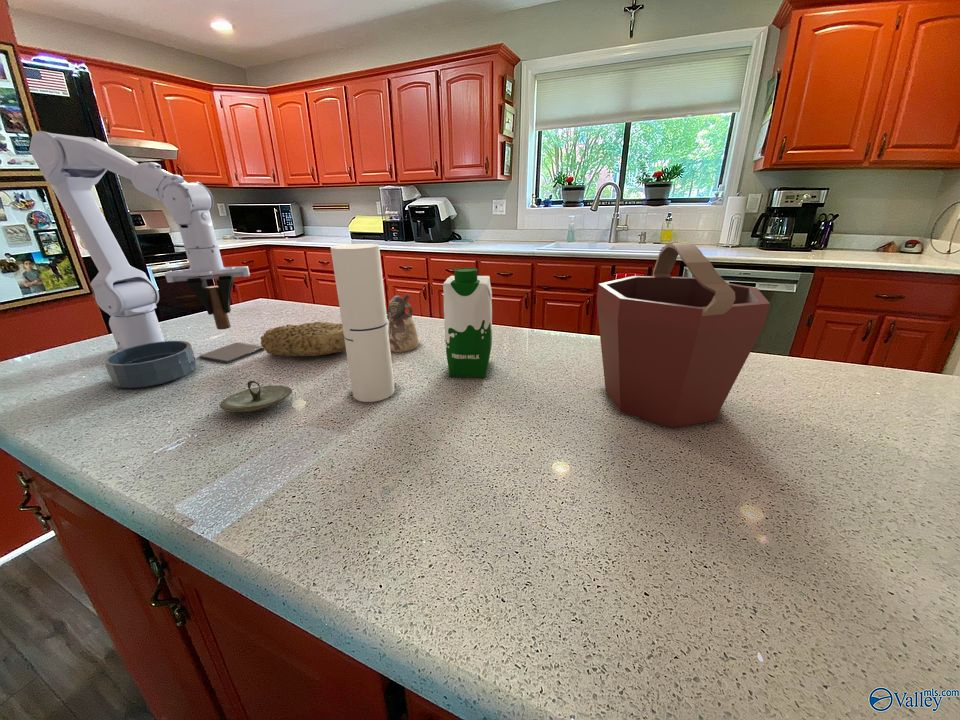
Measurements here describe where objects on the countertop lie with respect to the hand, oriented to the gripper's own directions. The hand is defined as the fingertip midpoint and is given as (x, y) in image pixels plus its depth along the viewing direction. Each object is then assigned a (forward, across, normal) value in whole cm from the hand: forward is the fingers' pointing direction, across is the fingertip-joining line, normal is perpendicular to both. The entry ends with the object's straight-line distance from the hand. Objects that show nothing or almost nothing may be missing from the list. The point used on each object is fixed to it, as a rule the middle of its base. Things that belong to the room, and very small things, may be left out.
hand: (219, 312), depth 85 cm
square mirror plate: (+10, 0, 0) cm, 10 cm away
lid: (+10, +8, -30) cm, 33 cm away
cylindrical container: (+10, +26, -33) cm, 43 cm away
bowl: (+10, -12, -8) cm, 17 cm away
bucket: (+10, +69, -55) cm, 89 cm away
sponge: (+10, +18, -7) cm, 22 cm away
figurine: (+10, +36, -12) cm, 39 cm away
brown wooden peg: (+3, 0, 0) cm, 3 cm away
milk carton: (+10, +46, -31) cm, 56 cm away
